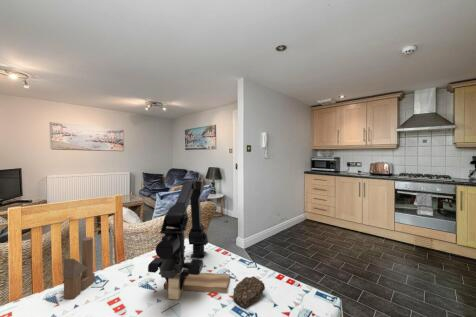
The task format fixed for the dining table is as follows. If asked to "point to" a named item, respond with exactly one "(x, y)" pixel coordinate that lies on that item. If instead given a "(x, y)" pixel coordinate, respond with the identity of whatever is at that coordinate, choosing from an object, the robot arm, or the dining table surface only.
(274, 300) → the dining table surface
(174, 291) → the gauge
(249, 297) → the brown rock
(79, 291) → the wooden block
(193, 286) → the board
